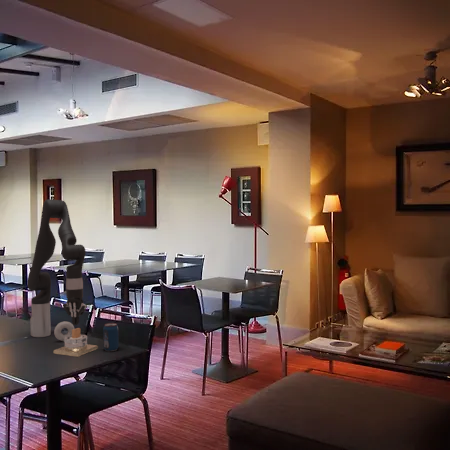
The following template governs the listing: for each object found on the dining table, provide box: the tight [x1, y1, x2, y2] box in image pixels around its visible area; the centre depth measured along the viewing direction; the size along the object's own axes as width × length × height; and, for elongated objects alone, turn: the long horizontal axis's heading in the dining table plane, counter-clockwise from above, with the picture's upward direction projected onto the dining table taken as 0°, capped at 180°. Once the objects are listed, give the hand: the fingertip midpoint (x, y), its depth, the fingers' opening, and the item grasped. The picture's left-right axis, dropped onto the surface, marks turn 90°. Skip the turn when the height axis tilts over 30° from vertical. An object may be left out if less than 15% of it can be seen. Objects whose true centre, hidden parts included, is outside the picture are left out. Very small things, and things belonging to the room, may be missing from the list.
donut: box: [53, 321, 75, 342], centre depth 257 cm, size 10×4×10 cm, turn 113°
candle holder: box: [53, 334, 99, 358], centre depth 238 cm, size 14×14×6 cm
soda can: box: [102, 322, 120, 352], centre depth 240 cm, size 7×7×12 cm
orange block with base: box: [70, 327, 83, 339], centre depth 238 cm, size 6×6×6 cm
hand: (75, 324), depth 238 cm, fingers closed
